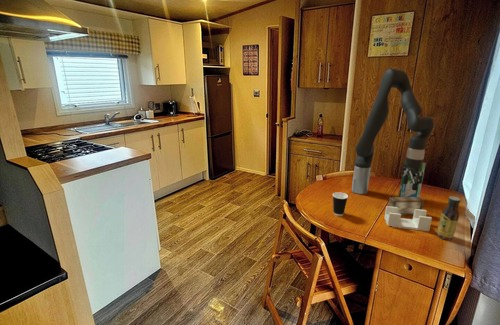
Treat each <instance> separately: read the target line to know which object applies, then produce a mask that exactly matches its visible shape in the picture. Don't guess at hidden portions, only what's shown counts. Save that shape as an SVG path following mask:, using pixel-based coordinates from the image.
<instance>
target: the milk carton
mask: <svg viewBox="0 0 500 325" xmlns="http://www.w3.org/2000/svg"><path fill="white" fill-rule="evenodd" d="M405 161H406V159H404V163H403V164H405ZM426 165H427V163H426V162H423V164H422V167H420V168H419V172H423V176H424V175H425V169H426ZM404 172H405V171H404ZM403 178H404V177H403V175H402V174H401V181H400V186H399V192H398V197H420V195H421V189H422V184H423V182H422V183H421V184H418V187H417V190H412V185H413V180H412V179H411V176H410V175H409V178H408V183H407V184H403ZM423 179H424V177H423V178H422V181H424V180H423ZM415 181H416V179H415ZM419 181H420V179H419Z"/></svg>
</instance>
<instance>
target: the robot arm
mask: <svg viewBox="0 0 500 325" xmlns="http://www.w3.org/2000/svg"><path fill="white" fill-rule="evenodd" d="M392 88H394V89H397V90H398V92H399V93H400V97H401V99H400V105H401V107H402V110H403V111H404V114H405V116H406V121H407V122H406V124H407V128H408V129H409V130H410V131H411V132H414V133H416V134H415V135H412V136H410V137H409V141H408V148H407V150H406V156H405V160H406V161H405V160H404V162H405V164H404V163H403V164H402V170H401V173H400V175H401V176H402V175H403V177H404V178H403V184H407V183H408V178H409V175H410V176H411V179H412V180H413V185H412V190H417V187H418V184H421V183H422V184H423V180H422V178H423V179H424V175H423V172H419V168H420V167H422V164H423V163H424V158H425V151H426V150H425V149H426V144H427V141H428V139H429V137H430V135H431V133H432V131H433V128H434V120H433V118H432V117H431V116H420V115H421V114H422V112H423V110H422V107H421V105H420V104H419V102H418V100H417V98H416V96H415V94H414V92H413V89H412V86H411V83H410V79H409V77H408V74H407V72H406V71H404V70H401V69H396V68H388V69H387V70H386V71H385V72H384V74H383V75H382V77H381V80H380V85H379V87H378V91H377V94H376V97H375V99H374V103H373V105H372V108H371V109H370V113H369V114H368V118H367V120H366V122H365V126H364V129H363V132H362V135H361V137H360V139H359V140H358V143H357V144H356V146H355V153H356V159H355V161H354V170H353V176H352V183H351V192H352V193H354V194H357V195H366V194H368V191H369V190H368V189H369V182H370V174H371V167H372V162H373V158H374V154H375V153H374V151H375V146H374V142H375V140H376V139H377V135H378V134H379V133H380V131H381V129H382V128H383V126H384V124H385V122H386V121H387V117H388V115H389V112H390V106H389V94H390V91H391V89H392ZM404 171H405V172H404ZM415 179H416V181H415ZM419 179H420V181H419Z"/></svg>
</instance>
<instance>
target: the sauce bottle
mask: <svg viewBox="0 0 500 325" xmlns="http://www.w3.org/2000/svg"><path fill="white" fill-rule="evenodd" d="M447 201H448V202H447V206H446V207H445V208H444V209H443V210H442V212H441V215H440V218H439V219H440V220H439V221H438V222H439V223H438V227H437V229H436V230H437V231H436V235H437V236H438V237H439V238H440V239H442V240H446V241H451V240H453V238H454V236H455V232H456V230H457V229H456V228H457V225H458V221H459V217H460V212H459V209H458V208H459V205H460V203H461V198H459V197H457V196H448V200H447Z"/></svg>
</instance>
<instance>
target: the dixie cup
mask: <svg viewBox="0 0 500 325" xmlns="http://www.w3.org/2000/svg"><path fill="white" fill-rule="evenodd" d="M348 198H349V195H348V194H347V193H345V192H340V191H339V192H338V191H336V192H333V193H332V205H333V206H332V208H333V210H332V211H333V214H334V215H335V216H338V217H343V215H344V214H345V210H346V206H347V201H348Z"/></svg>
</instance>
